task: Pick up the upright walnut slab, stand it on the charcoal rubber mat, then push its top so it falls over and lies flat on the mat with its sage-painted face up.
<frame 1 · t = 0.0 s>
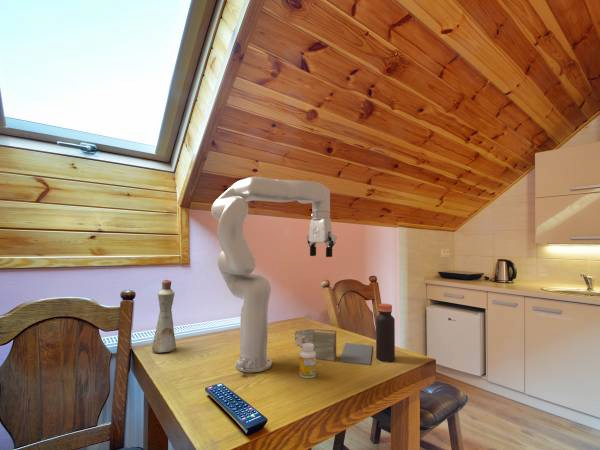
hand: (320, 256, 132), 37 cm above the table, tool pointing down, fingers open, 9 cm apart
slab: (324, 358, 117), on the table
grey rock: (310, 344, 133), on the table
vinegar: (385, 359, 116), on the table
bottle: (163, 350, 123), on the table
supplement bottle: (307, 375, 102), on the table
mat: (356, 353, 122), on the table
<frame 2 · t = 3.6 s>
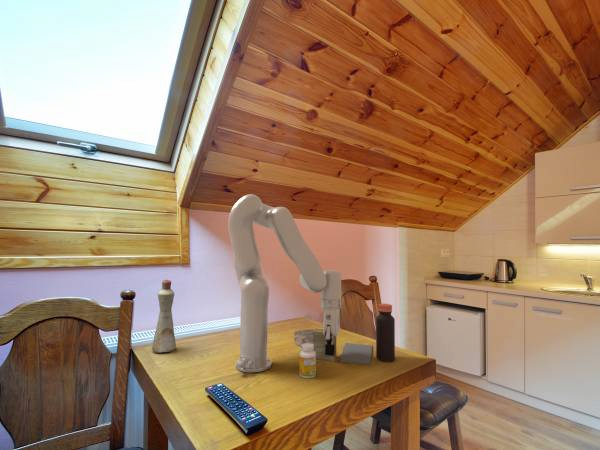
hand: (330, 352, 116), 2 cm above the table, tool pointing down, fingers closed on slab, 4 cm apart
slab: (324, 358, 117), on the table, touching gripper
everything else where it was.
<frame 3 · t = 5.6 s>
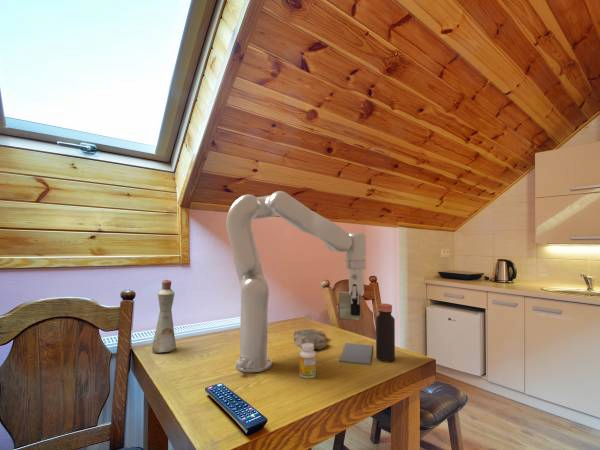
hand: (355, 313, 117), 17 cm above the table, tool pointing down, fingers closed on slab, 4 cm apart
slab: (349, 318, 118), point 14 cm above the table, touching gripper
everything else where it was.
when the fingers open (4 cm above the table, at t = 8.1 s): slab drops 1 cm, resting on mat.
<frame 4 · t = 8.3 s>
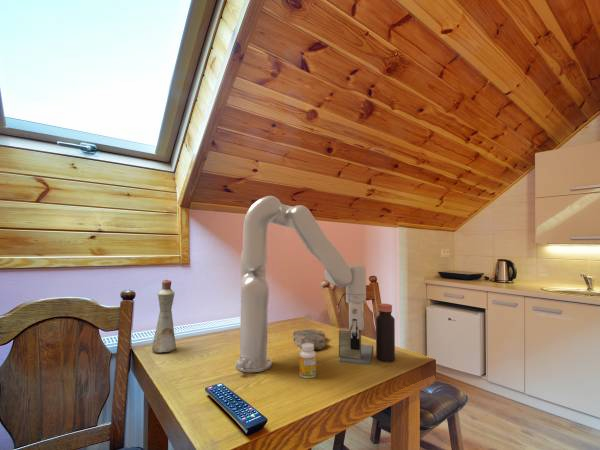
hand: (355, 346, 117), 5 cm above the table, tool pointing down, fingers open, 6 cm apart
slab: (350, 356, 117), resting on mat
everything else where it was.
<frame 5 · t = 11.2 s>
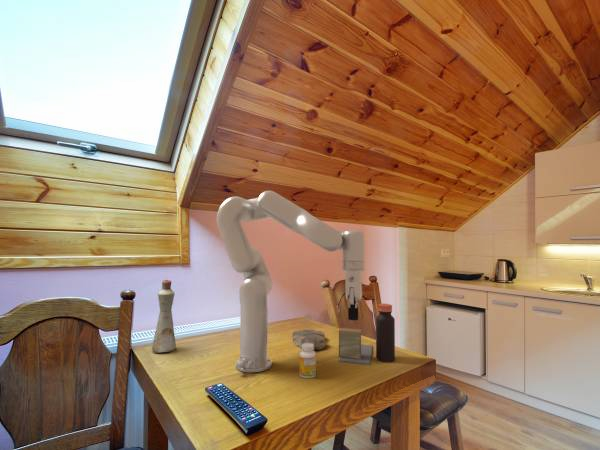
hand: (353, 319, 107), 17 cm above the table, tool pointing down, fingers closed
nothing on the table moved.
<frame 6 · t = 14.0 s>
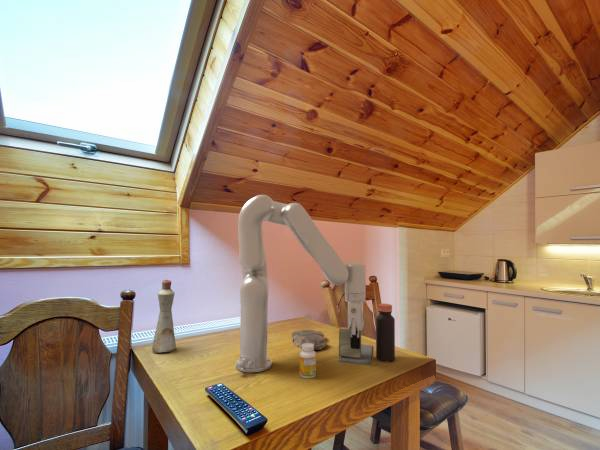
hand: (355, 347, 113), 5 cm above the table, tool pointing down, fingers closed
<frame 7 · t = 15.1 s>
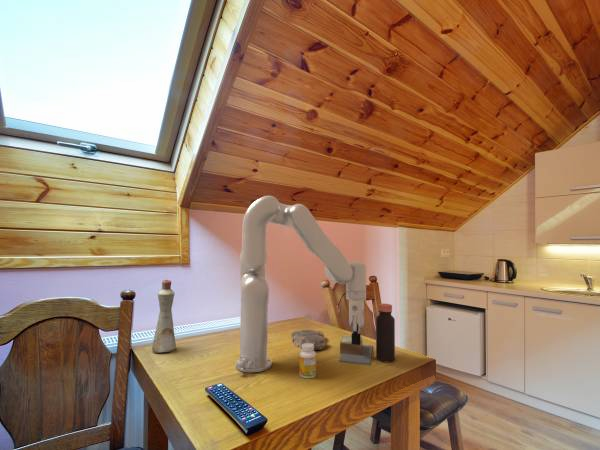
hand: (356, 343, 118), 5 cm above the table, tool pointing down, fingers closed
slab: (350, 349, 119), point 2 cm above the table, tilted 90°, touching mat
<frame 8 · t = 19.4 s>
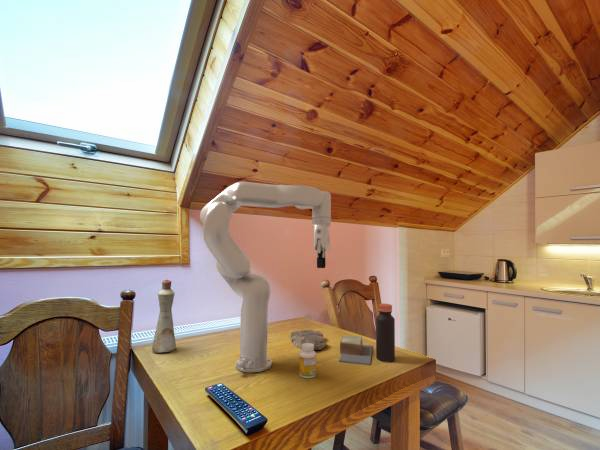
hand: (321, 267, 125), 33 cm above the table, tool pointing down, fingers closed
at the end: slab tilted 90°; slab inside the target area (4.5 cm from its centre), point 2.5 cm above the table; the gripper is holding nothing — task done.
